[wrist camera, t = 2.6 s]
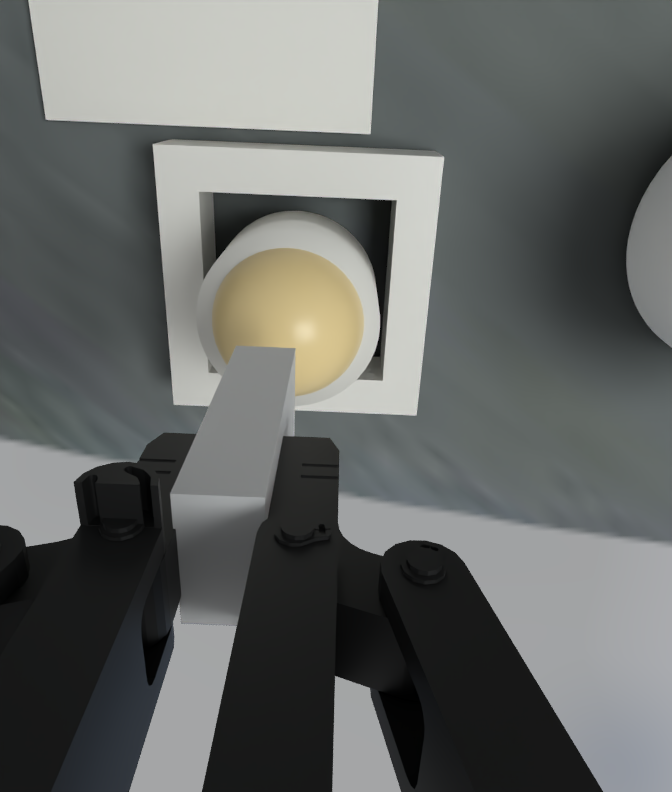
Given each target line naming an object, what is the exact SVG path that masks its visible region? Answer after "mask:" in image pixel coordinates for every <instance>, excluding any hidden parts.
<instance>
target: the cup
mask: <svg viewBox="0 0 672 792" xmlns="http://www.w3.org/2000/svg"><path fill="white" fill-rule="evenodd" d="M626 269H627V278H628V284H629V288H630V292H631V295H632V298H633V300H634V303H635V305H636V307H637V309H638V311H639V313H640V315H641V316H642V318H643V319H644V321H645V322H646V324H647V325H648V326H649V327H650V329H651V330H652V331H653V332H654V333H655V334H656V335H657V336H658V337H659V338H660V339H661V340H663V341H664V342H665V343H666V344H668V345H669V346H670V347H671V348H672V156H671V157H670V158H669V159H668V160H667V161H666V163H665V164H664V165H663V166H662V167H661V168H660V170H659V171H658V173H657V174H656V176H655V177H654V179H653V180H652V181H651V183H650V185H649V186H648V188H647V190H646V192H645V193H644V195H643V197H642V199H641V201H640V204H639V206H638V208H637V210H636V213H635V216H634V219H633V222H632V225H631V229H630V233H629V237H628V244H627V252H626Z"/></svg>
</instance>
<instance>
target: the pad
mask: <svg viewBox="0 0 672 792" xmlns="http://www.w3.org/2000/svg"><path fill="white" fill-rule="evenodd" d="M28 2H29V9H30V15H31V22H32V29H33V36H34V43H35V49H36V56H37V63H38V70H39V77H40V83H41V90H42V97H43V104H44V111H45V117H46V120H59V121H82V122H105V123H128V124H150V125H173V126H196V127H219V128H241V129H264V130H287V131H310V132H332V133H355V134H370V133H371V116H372V99H373V82H374V65H375V48H376V31H377V14H378V0H28Z"/></svg>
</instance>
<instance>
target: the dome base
mask: <svg viewBox="0 0 672 792" xmlns="http://www.w3.org/2000/svg"><path fill="white" fill-rule="evenodd" d="M153 154H154V166H155V179H156V191H157V204H158V216H159V228H160V241H161V253H162V265H163V278H164V290H165V302H166V315H167V327H168V339H169V352H170V364H171V376H172V389H173V401H174V405H193V406H209V405H210V403H211V401H212V398H213V396H214V394H215V392H216V389H217V387H218V385H219V383H220V380H221V378H222V376H221V375H220V374H219V373H218V372H217V371H216V369H215V368H214V367H213V365H212V364H211V363H210V361H209V359H208V357H207V356H206V354H205V352H204V349H203V347H202V345H201V342H200V338H199V334H198V330H197V322H196V307H197V300H198V295H199V292H200V289H201V285H202V283H203V281H204V279H205V277H206V275H207V273H208V272H209V270H210V269H211V267H212V266H213V264H214V263H215V262H216V247H215V224H214V201H213V192H219V193H241V194H264V195H287V196H309V197H332V198H355V199H377V200H392V205H391V218H390V232H389V245H388V258H387V271H386V285H385V298H384V311H383V325H382V338H381V351H380V357H372V359H371V361H370V362H369V364H368V366H367V367H366V369H365V370H364V372H363V373H362V374H361V375H360V376H359V378H358V379H357V380H356V381H355V382H353V383H352V384H351V385H350V386H349V387H348V388H346V389H345V390H343V391H342V392H341V393H339V394H337V395H335V396H333V397H331V398H329V399H326V400H324V401H321V402H318V403H314V404H310V405H302V406H295V410H305V411H327V412H349V413H372V414H394V415H417V406H418V396H419V387H420V378H421V368H422V359H423V350H424V340H425V331H426V322H427V312H428V303H429V294H430V284H431V275H432V266H433V256H434V247H435V238H436V228H437V219H438V210H439V200H440V191H441V182H442V172H443V163H444V157H443V156H442V155H441V154H439V153H438V152H437V151H431V150H409V149H386V148H363V147H340V146H318V145H295V144H272V143H250V142H227V141H204V140H181V139H170V140H166V141H162V142H159V143H155V144H153Z"/></svg>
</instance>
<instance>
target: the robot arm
mask: <svg viewBox="0 0 672 792" xmlns="http://www.w3.org/2000/svg"><path fill="white" fill-rule="evenodd" d="M295 350H296V348H280V347H256V346H236V347H235V349H234V351H233V353H232V356H231V358H230V360H229V362H228V365H227V367H226V369H225V371H224V374H223V376H222V378H221V380H220V383H219V385H218V387H217V389H216V392H215V394H214V396H213V398H212V401H211V403H210V405H209V407H208V410H207V412H206V414H205V416H204V419H203V421H202V423H201V425H200V428H199V430H198V432H197V434H182V433H163V434H162V435H160V436H159V437H157V438H156V439H155V440H153V441H152V442H150V443H149V444H147V446H146V448H145V450H144V451H143V453H142V455H141V457H140V460H139V461H138V462H137V463H132V462H120V463H110V464H106V465H102V466H99V467H96V468H94V469H91V470H90V471H87V472H85V473H83V474H82V475H81V476H80V477H79V478H78V479H77V480H76V481H74V487H75V493H76V499H77V506H78V511H79V518H80V524H81V526H80V527H79V529H78V531H77V532H76V534H75V535H74V537H73V538H71V539H67V540H63V541H59V542H54V543H48V544H42V545H35V546H29V547H26V545H25V540H24V538H23V536H22V535H21V533H20V532H19V531H18V530H16V529H13V528H11V527H9V526H1V525H0V792H129V790H130V787H131V783H132V780H133V777H134V774H135V770H136V767H137V764H138V761H139V758H140V755H141V751H142V748H143V745H144V742H145V738H146V735H147V732H148V729H149V726H150V722H151V719H152V716H153V713H154V709H155V706H156V703H157V700H158V697H159V693H160V690H161V687H162V683H163V680H164V677H165V674H166V671H167V668H168V664H169V661H170V658H171V655H172V651H173V648H174V629H173V620H174V617H175V614H176V610H177V608H178V605H179V603H180V615H181V623H182V624H205V625H229V626H237V629H236V633H235V638H234V643H233V648H232V652H231V657H230V662H229V667H228V671H227V676H226V681H225V685H224V690H223V695H222V699H221V704H220V709H219V714H218V718H217V723H216V728H215V733H214V738H213V742H212V747H211V752H210V757H209V761H208V766H207V771H206V775H205V780H204V785H203V789H202V792H332V774H333V772H332V771H333V732H334V691H335V690H334V689H335V687H334V686H335V676H338V677H340V678H343V679H346V680H349V681H352V682H355V683H358V684H361V685H363V686H366V687H369V688H370V690H371V698H372V701H373V704H374V707H375V711H376V714H377V717H378V720H379V723H380V726H381V729H382V732H383V735H384V739H385V742H386V745H387V748H388V751H389V754H390V758H391V761H392V764H393V767H394V770H395V773H396V776H397V780H398V782H399V786H400V789H401V792H603V791H602V789H601V788H600V786H599V784H598V783H597V781H596V779H595V778H594V776H593V774H592V773H591V771H590V769H589V768H588V766H587V764H586V763H585V761H584V759H583V758H582V756H581V754H580V753H579V751H578V749H577V748H576V746H575V745H574V743H573V741H572V740H571V738H570V736H569V735H568V733H567V731H566V730H565V728H564V726H563V725H562V723H561V721H560V720H559V718H558V717H557V715H556V713H555V712H554V710H553V708H552V707H551V705H550V703H549V702H548V700H547V698H546V697H545V695H544V694H543V692H542V690H541V688H540V687H539V685H538V683H537V682H536V680H535V679H534V677H533V675H532V674H531V672H530V670H529V669H528V667H527V665H526V664H525V662H524V660H523V659H522V657H521V655H520V654H519V652H518V650H517V649H516V647H515V646H514V644H513V643H512V641H511V639H510V638H509V636H508V634H507V632H506V631H505V629H504V628H503V626H502V624H501V622H500V621H499V619H498V617H497V616H496V614H495V613H494V611H493V609H492V608H491V606H490V604H489V603H488V601H487V599H486V598H485V596H484V595H483V593H482V591H481V589H480V588H479V586H478V584H477V583H476V581H475V580H474V578H473V576H472V575H471V573H470V571H469V570H468V568H467V566H466V565H465V563H464V562H463V561H462V560H461V559H460V557H459V556H458V555H457V554H456V553H455V552H453V551H451V550H450V549H448V548H446V547H444V546H443V545H440V544H436V543H432V542H429V541H411V540H410V541H406V542H402V543H399V544H395V545H394V546H393V547H391V548H390V549H388V550H387V551H386V552H385V554H384V556H380V555H377V554H373V553H370V552H367V551H364V550H362V549H359V548H358V547H356V546H354V545H352V544H351V543H350V542H349V541H348V540H346V539H345V538H344V537H343V536H342V534H341V532H340V530H339V526H338V486H339V450H338V448H337V447H336V446H335V444H334V443H333V442H332V440H331V439H330V438H317V437H294V426H295Z"/></svg>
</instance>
